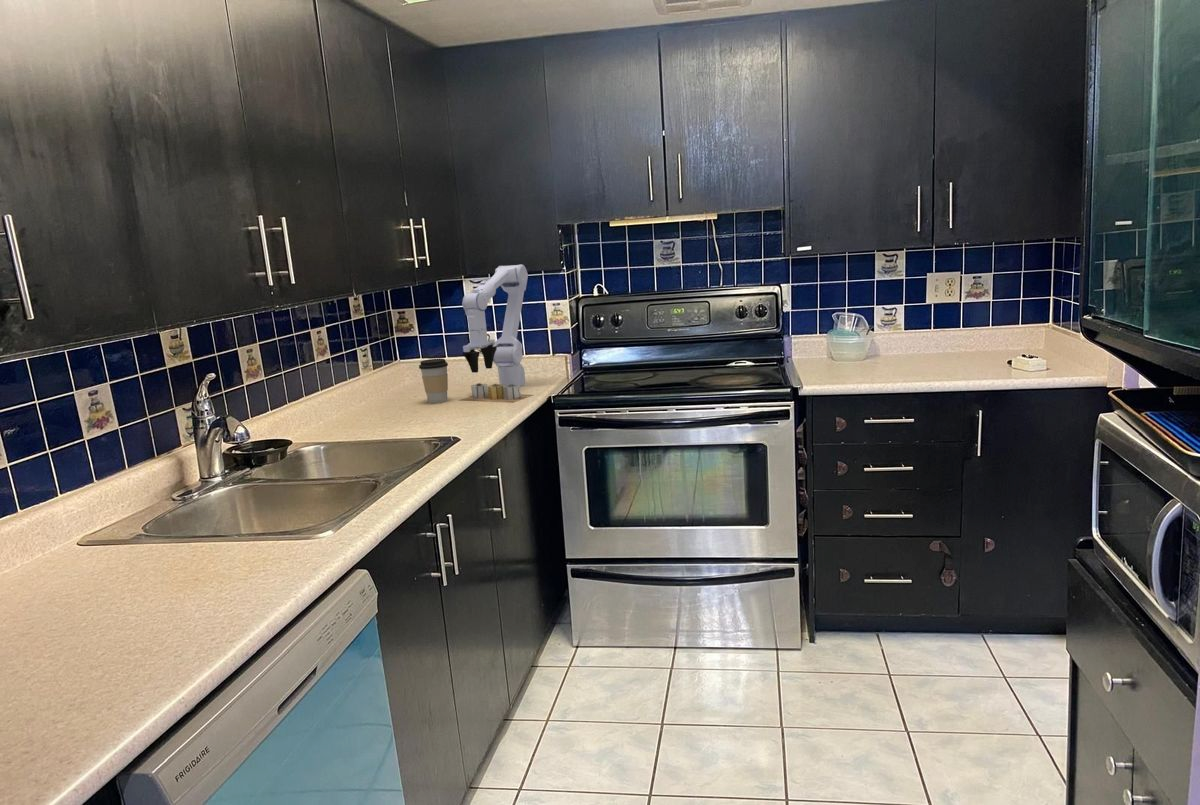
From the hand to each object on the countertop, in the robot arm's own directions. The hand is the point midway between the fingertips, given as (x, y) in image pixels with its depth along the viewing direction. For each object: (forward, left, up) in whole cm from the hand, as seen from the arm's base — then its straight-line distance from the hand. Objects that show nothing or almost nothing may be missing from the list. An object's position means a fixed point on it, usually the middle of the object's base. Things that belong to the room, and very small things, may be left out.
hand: (482, 370), depth 270 cm
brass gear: (+3, +8, -8) cm, 12 cm away
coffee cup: (+11, -11, -10) cm, 19 cm away
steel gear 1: (+3, +1, -8) cm, 9 cm away
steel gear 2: (+3, +14, -8) cm, 16 cm away
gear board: (+3, +7, -10) cm, 12 cm away
